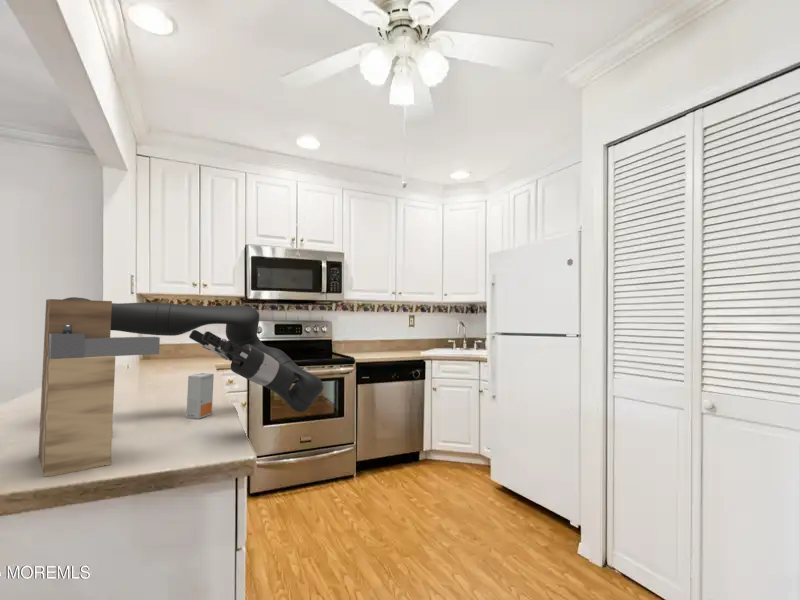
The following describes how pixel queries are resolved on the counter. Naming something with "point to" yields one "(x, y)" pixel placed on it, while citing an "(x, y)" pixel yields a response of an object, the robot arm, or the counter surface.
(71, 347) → the dark grey bar piece
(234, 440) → the counter surface
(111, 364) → the upright wood plank
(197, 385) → the skincare box
